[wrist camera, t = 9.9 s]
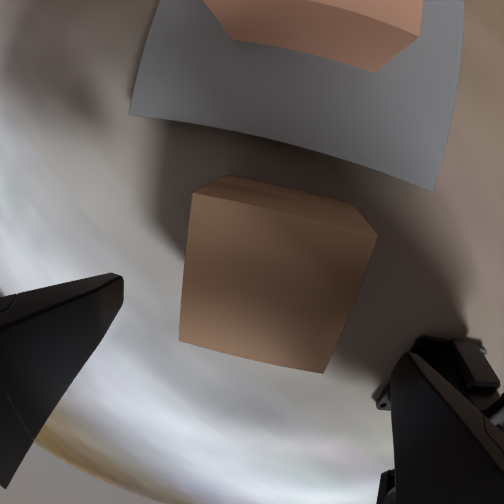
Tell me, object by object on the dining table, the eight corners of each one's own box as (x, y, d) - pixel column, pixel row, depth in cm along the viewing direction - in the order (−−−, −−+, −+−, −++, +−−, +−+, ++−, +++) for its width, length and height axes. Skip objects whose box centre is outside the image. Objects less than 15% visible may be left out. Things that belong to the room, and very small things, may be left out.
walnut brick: (318, 309, 16) (323, 373, 11) (210, 284, 16) (178, 340, 11) (351, 202, 13) (378, 235, 9) (227, 174, 14) (192, 192, 9)
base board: (419, 187, 12) (432, 192, 11) (143, 116, 13) (128, 115, 12) (451, -28, 7) (462, -38, 6) (212, -83, 8) (205, -96, 6)
